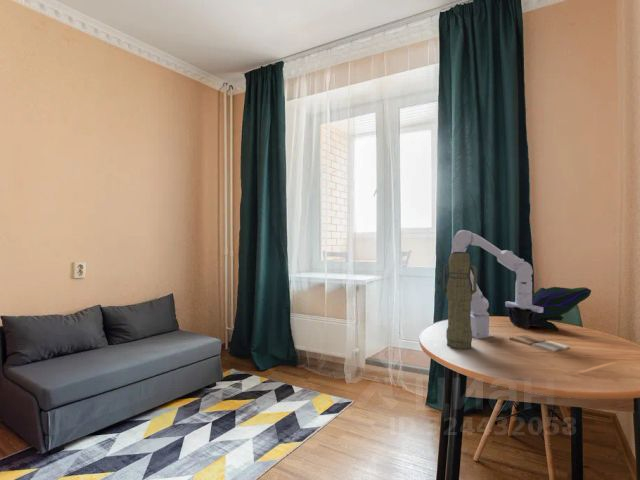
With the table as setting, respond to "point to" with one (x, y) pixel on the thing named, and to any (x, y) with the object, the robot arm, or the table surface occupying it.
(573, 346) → the table surface
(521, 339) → the plank
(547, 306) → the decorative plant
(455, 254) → the thermos
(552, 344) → the laid board
